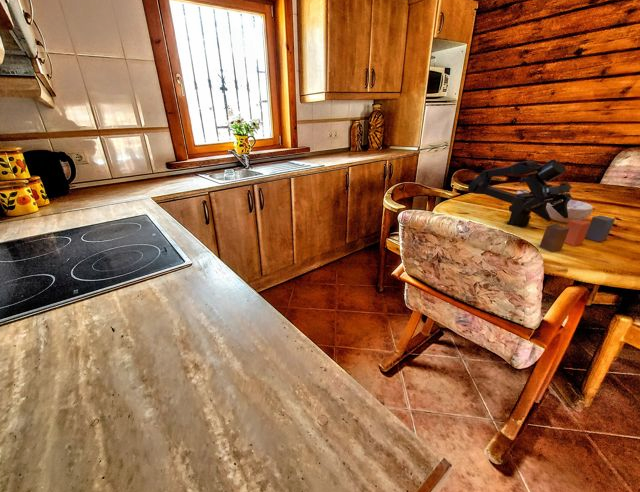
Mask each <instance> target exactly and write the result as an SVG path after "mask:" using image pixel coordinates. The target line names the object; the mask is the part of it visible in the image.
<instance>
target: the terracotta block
mask: <svg viewBox="0 0 640 492" xmlns="http://www.w3.org/2000/svg"><path fill="white" fill-rule="evenodd" d="M590 224H591V223H590V222H589V221H586V220H583V219H582V220H578V219H575V220H569V221H568V223H566V226H565V227H567V228H570V229H569V231H568V234H567V236H566V239H565V242H564V244H566V245H569V246H573V247H576V246H580V245H581V246H582V245H583V243H584V241H585V239H586V238H585V236H586V233H587V231H588V228H589V226H590Z"/></svg>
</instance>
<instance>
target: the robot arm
mask: <svg viewBox="0 0 640 492" xmlns="http://www.w3.org/2000/svg"><path fill="white" fill-rule="evenodd" d="M566 172H567V168H566V166H565V165H564V164H562V162H560V161H557V159H550V160H548V161H547V162H545V163H544V164H539V163H538V162H537V161H535V160H527V161H526V160H525V161H519V162H517V163H514V164H511V165H509V166H505V167H498V168H492V169H484V170H482V171H481V172H480V173H479V174H478V175H477V176H476V177H475V178H473V179H472V180H471V182H470V183H469V184H468V187H467V190H468V193H470V194H473V195H474V194H475V195H485V196H489V197H491V198H493V199H497V200H500V201H503V202H506V203H509V204H511V205H509V206H508V211H509V212H510V216H509V219H508V221H507V223H506V225H511V226H515V227H520V228H525V227H527V226H528V225H529V224H530V221H531V218H532V215H531V213H533V214H535V215H536V216H538V217H540V218H541V219H543V220H545V221H546V222H547V223H549V222H552V218H550V215H549V213H548V211H547V209H546V206H547V203H550V204H551V205H553V206H551V207H552V208H554V209H555V210H556V211H557V212H558V213H559V214H560V215H561V216H563V217H564V218H568V211H567V203H568V202H569V201H570V200H572V198H573V196H572V195H571V193H570V192H571V189H572V188H573V186H572V185H571V183H570V182H568V181H567V182H562V183H559V185H556V186H553V185H552V184H548V183H547V181H548V182H550V181H552V180H554V179H556V178H558V177H559V176H562V175H563V174H565V173H566ZM507 175H508V176H509V175H512V176H521V177H520V180H519V181H518V183H519V184H525V185H526V187H528V189H529V193H521V194H516V193H513V192H511V191H507V190H504V189H500V188H496V187H494V186H492V185H491V182H492V179H493V178H494V177H500V176H507ZM525 175H526V176H525ZM532 194H533V195H532Z"/></svg>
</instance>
